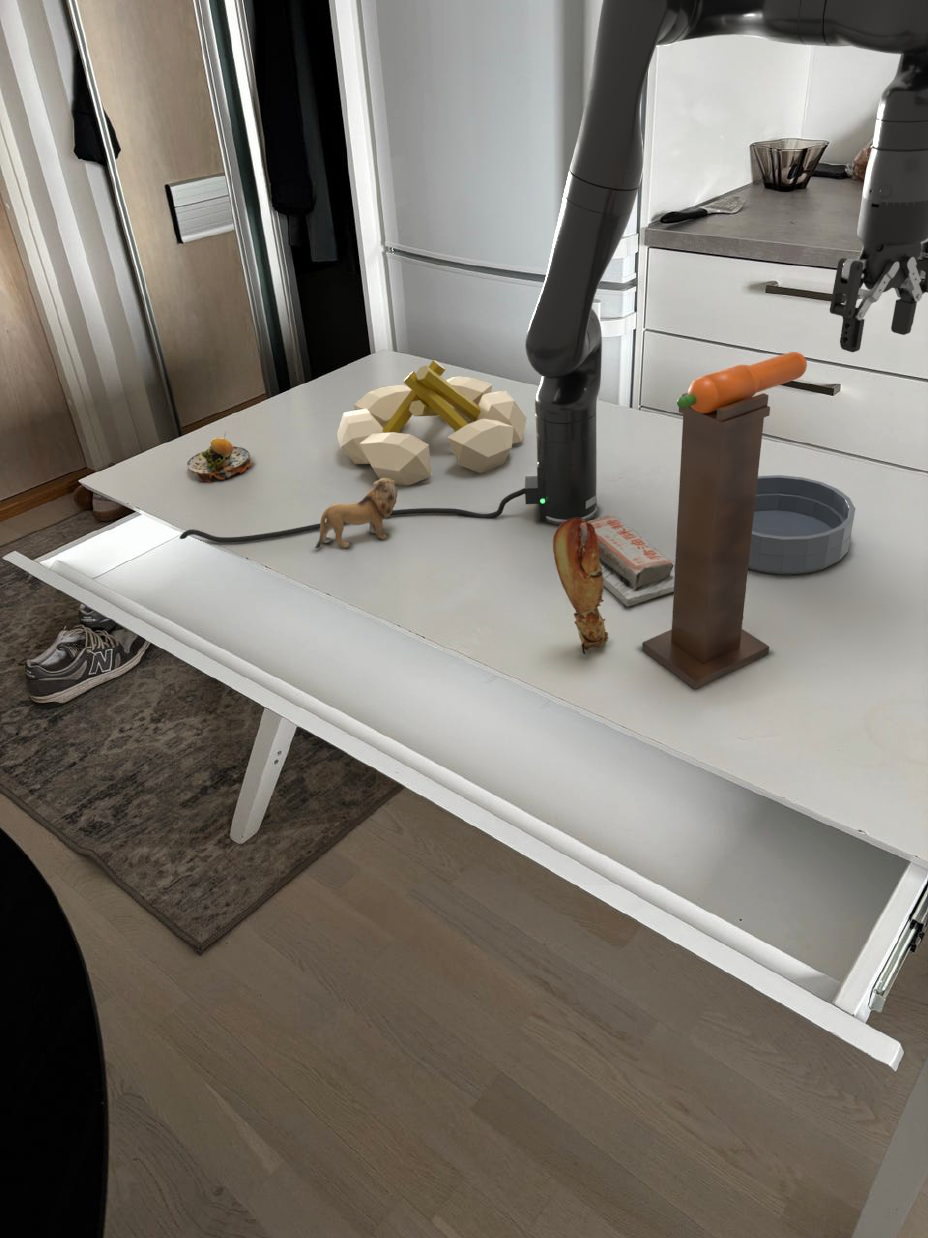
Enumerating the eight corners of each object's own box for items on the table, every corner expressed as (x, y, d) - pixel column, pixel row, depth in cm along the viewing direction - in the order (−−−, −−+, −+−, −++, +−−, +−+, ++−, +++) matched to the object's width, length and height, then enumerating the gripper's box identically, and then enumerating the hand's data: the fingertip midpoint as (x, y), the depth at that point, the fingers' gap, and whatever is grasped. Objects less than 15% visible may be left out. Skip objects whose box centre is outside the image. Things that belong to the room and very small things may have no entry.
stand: (695, 689, 114) (714, 423, 95) (641, 649, 121) (650, 395, 102) (768, 654, 119) (801, 393, 99) (713, 617, 126) (733, 368, 107)
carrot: (689, 426, 98) (691, 391, 95) (665, 415, 100) (666, 381, 98) (813, 383, 104) (817, 349, 102) (787, 374, 107) (791, 341, 105)
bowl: (719, 578, 134) (723, 541, 130) (702, 511, 150) (704, 477, 146) (864, 574, 131) (871, 537, 128) (830, 507, 148) (836, 472, 144)
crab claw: (552, 648, 123) (547, 512, 112) (576, 630, 126) (573, 495, 115) (596, 667, 119) (595, 528, 108) (619, 648, 122) (621, 510, 111)
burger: (217, 450, 185) (208, 414, 181) (264, 459, 180) (256, 422, 176) (175, 477, 177) (164, 439, 172) (224, 486, 172) (214, 448, 167)
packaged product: (564, 523, 140) (622, 506, 143) (564, 551, 143) (622, 534, 146) (627, 579, 126) (690, 560, 129) (626, 609, 129) (688, 589, 132)
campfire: (355, 501, 162) (339, 407, 153) (331, 428, 190) (317, 344, 180) (549, 466, 168) (546, 373, 158) (499, 399, 195) (493, 317, 186)
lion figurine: (395, 519, 156) (388, 469, 151) (407, 532, 152) (401, 482, 147) (310, 544, 151) (300, 494, 146) (321, 559, 147) (311, 507, 142)
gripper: (915, 176, 107) (889, 320, 116) (825, 198, 101) (806, 348, 110) (975, 184, 101) (943, 335, 110) (883, 208, 96) (858, 364, 105)
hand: (875, 341), depth 110 cm, fingers open, 8 cm apart
